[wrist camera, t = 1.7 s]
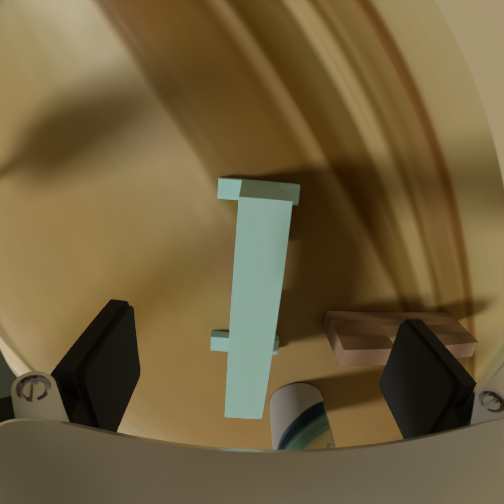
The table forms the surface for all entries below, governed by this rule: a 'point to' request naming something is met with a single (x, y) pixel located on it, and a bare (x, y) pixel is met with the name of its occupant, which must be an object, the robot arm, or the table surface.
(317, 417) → the lotion bottle
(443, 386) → the robot arm
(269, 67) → the table surface
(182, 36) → the table surface
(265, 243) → the teal notched bracket
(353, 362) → the brown u-shaped block
